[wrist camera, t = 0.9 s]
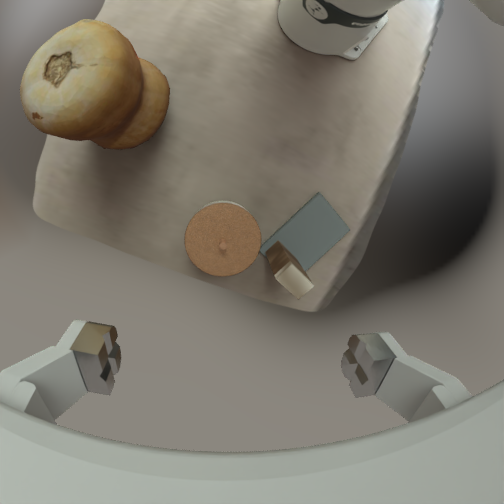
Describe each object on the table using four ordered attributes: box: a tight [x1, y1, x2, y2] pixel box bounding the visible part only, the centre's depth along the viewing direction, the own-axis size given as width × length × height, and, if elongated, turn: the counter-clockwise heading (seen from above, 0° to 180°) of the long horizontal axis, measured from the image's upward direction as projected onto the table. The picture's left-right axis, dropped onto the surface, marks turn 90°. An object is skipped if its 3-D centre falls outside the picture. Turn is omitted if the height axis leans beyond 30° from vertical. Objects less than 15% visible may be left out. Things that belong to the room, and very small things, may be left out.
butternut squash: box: [20, 19, 170, 149], centre depth 25 cm, size 14×13×25 cm
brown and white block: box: [265, 240, 314, 300], centre depth 43 cm, size 3×5×10 cm, turn 44°
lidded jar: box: [185, 201, 261, 276], centre depth 41 cm, size 11×11×9 cm
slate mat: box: [260, 192, 350, 271], centre depth 48 cm, size 14×9×1 cm, turn 134°
